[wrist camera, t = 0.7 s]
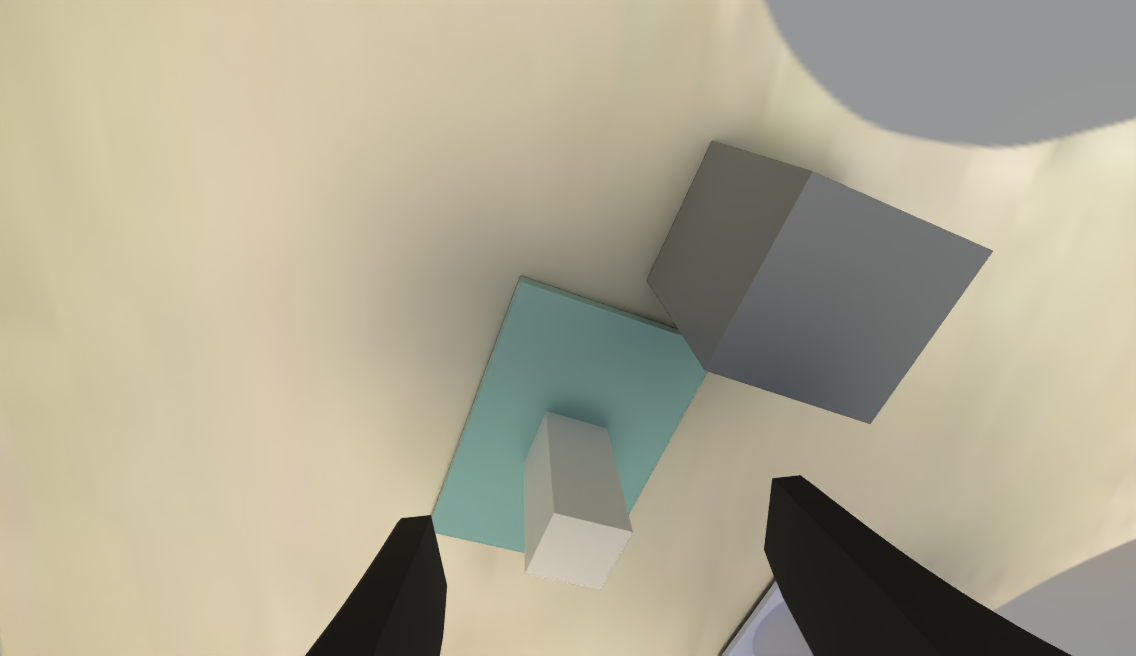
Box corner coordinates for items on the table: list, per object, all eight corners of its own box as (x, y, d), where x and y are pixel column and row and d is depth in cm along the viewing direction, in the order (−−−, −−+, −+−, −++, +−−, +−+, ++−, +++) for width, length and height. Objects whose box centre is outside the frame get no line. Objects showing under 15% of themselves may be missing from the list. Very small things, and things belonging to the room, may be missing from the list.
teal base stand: (714, 342, 21) (783, 434, 16) (596, 558, 25) (618, 691, 20) (520, 276, 19) (520, 353, 14) (429, 520, 24) (401, 655, 18)
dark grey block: (840, 196, 19) (992, 250, 13) (767, 323, 21) (870, 424, 15) (712, 140, 18) (812, 171, 12) (647, 280, 20) (704, 370, 14)
